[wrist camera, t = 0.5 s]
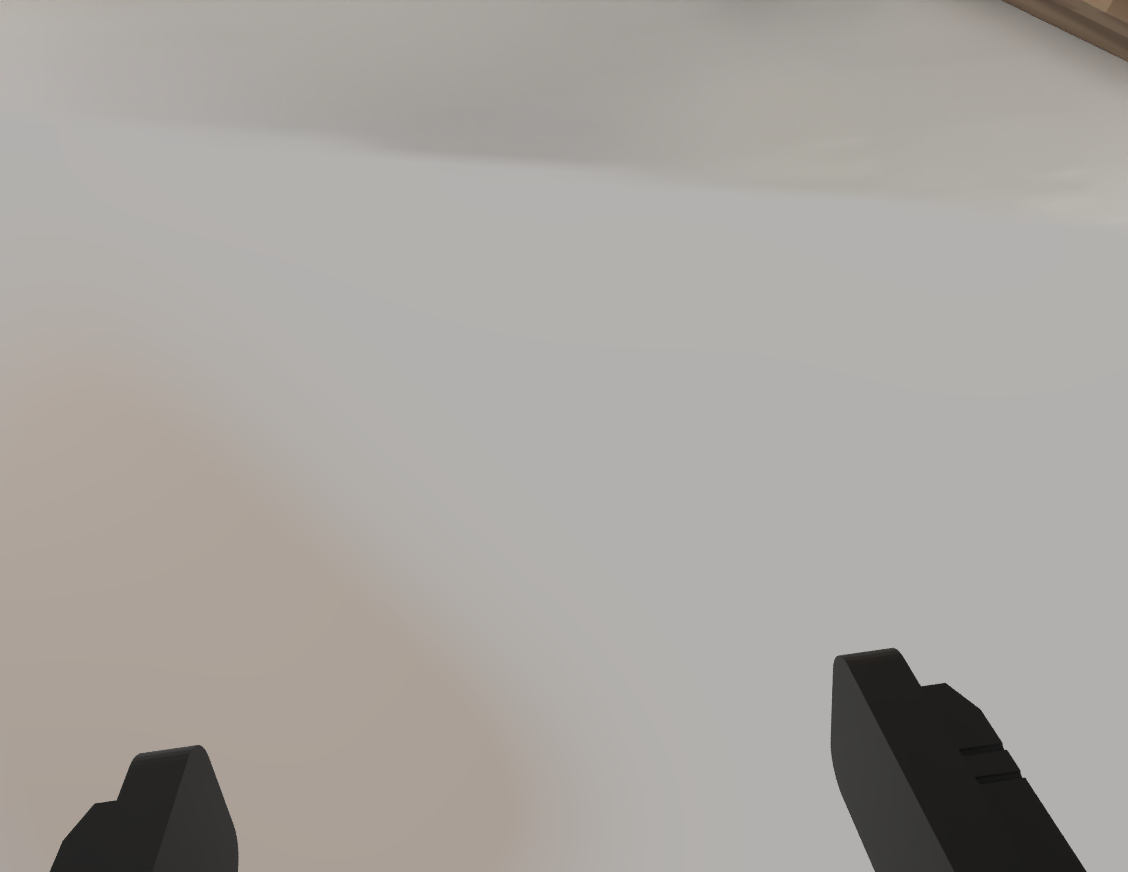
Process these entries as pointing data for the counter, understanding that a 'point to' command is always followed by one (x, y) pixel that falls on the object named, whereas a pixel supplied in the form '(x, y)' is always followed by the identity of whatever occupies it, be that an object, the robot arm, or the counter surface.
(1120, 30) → the keyhole block
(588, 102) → the counter surface
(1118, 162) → the counter surface
